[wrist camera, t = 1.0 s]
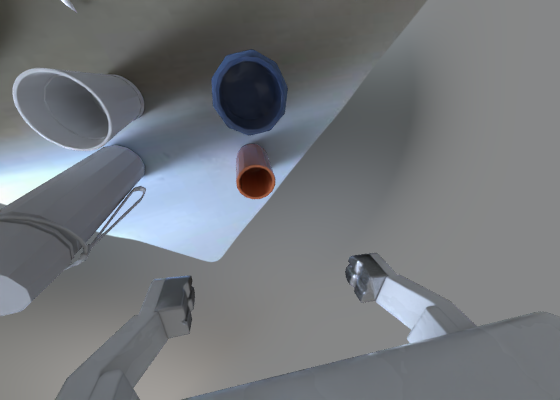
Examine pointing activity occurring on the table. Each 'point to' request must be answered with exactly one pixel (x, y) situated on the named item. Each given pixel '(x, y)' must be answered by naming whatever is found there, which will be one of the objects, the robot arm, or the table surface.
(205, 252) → the table surface
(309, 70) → the table surface
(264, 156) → the terracotta cup
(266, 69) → the cup stack
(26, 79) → the cup
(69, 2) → the marker
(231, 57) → the stack rims
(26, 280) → the water bottle
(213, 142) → the table surface
